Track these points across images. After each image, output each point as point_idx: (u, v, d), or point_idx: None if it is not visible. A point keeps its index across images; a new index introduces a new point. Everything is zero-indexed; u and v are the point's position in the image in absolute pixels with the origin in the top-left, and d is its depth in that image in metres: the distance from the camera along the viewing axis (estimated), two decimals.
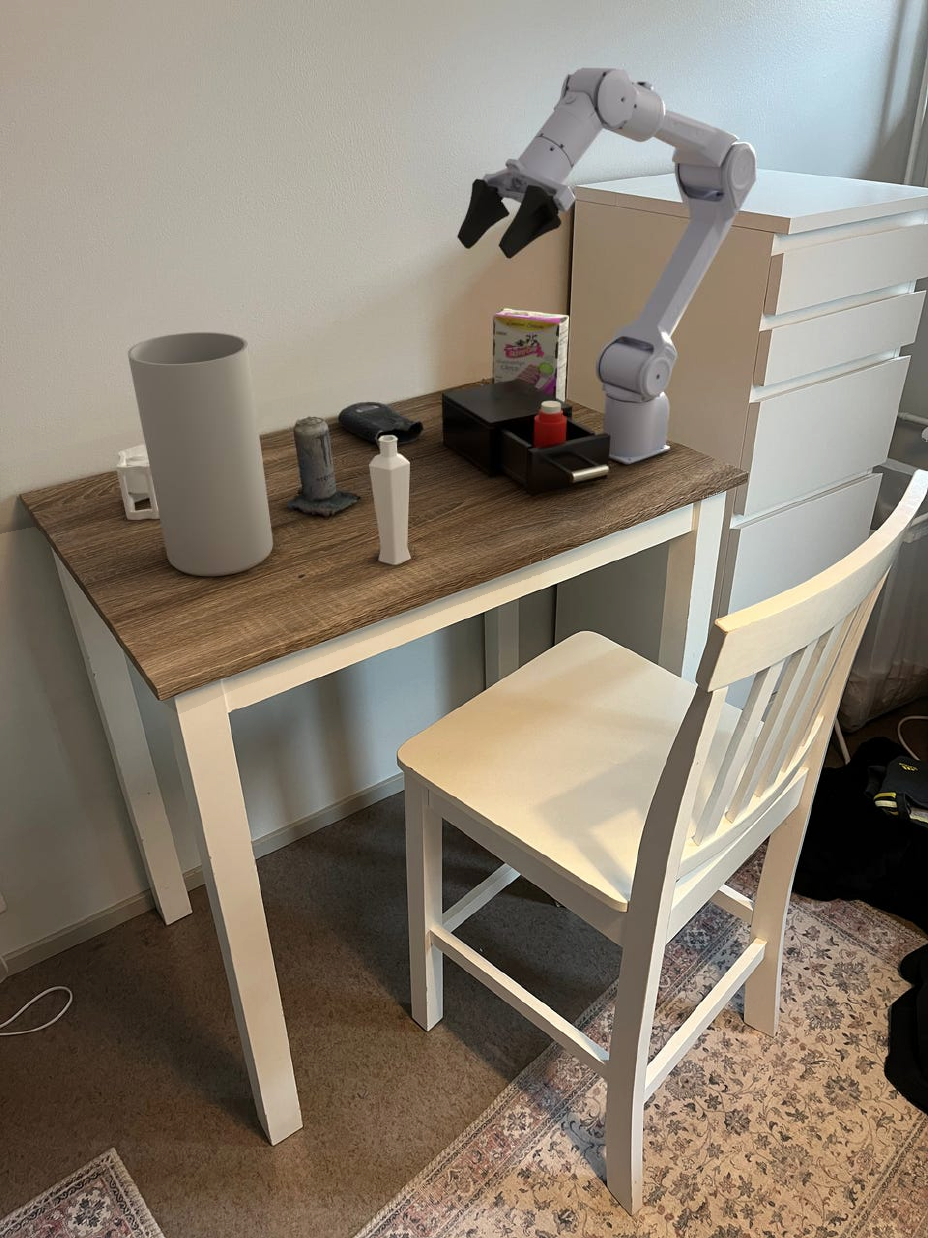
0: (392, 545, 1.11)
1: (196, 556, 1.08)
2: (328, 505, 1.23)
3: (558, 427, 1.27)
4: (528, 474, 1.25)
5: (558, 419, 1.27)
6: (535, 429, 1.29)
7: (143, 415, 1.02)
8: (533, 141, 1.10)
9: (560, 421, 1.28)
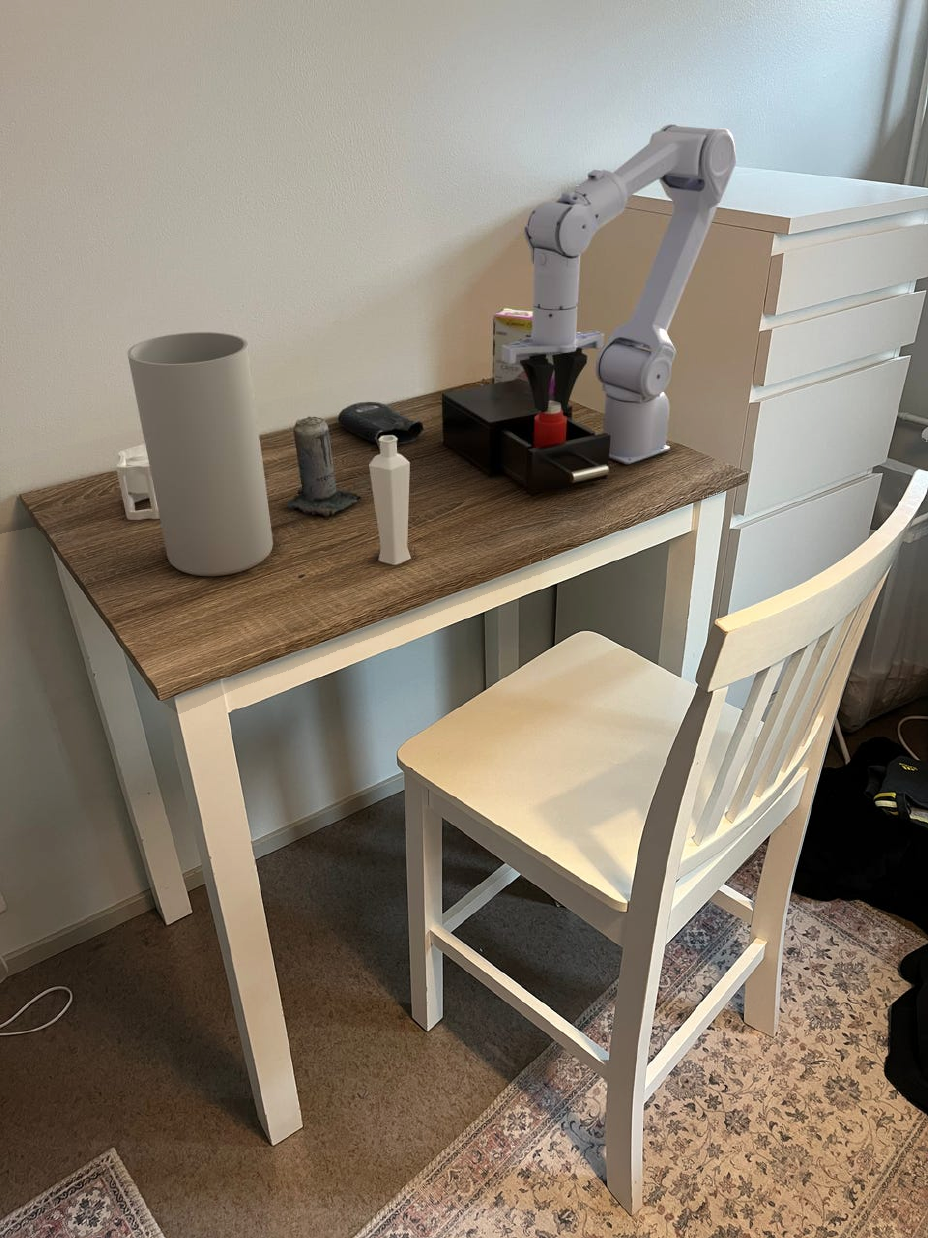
0: (392, 545, 1.11)
1: (196, 556, 1.08)
2: (328, 505, 1.23)
3: (558, 427, 1.27)
4: (528, 474, 1.25)
5: (558, 419, 1.27)
6: (535, 429, 1.29)
7: (143, 414, 1.02)
8: (562, 315, 1.19)
9: (560, 421, 1.28)
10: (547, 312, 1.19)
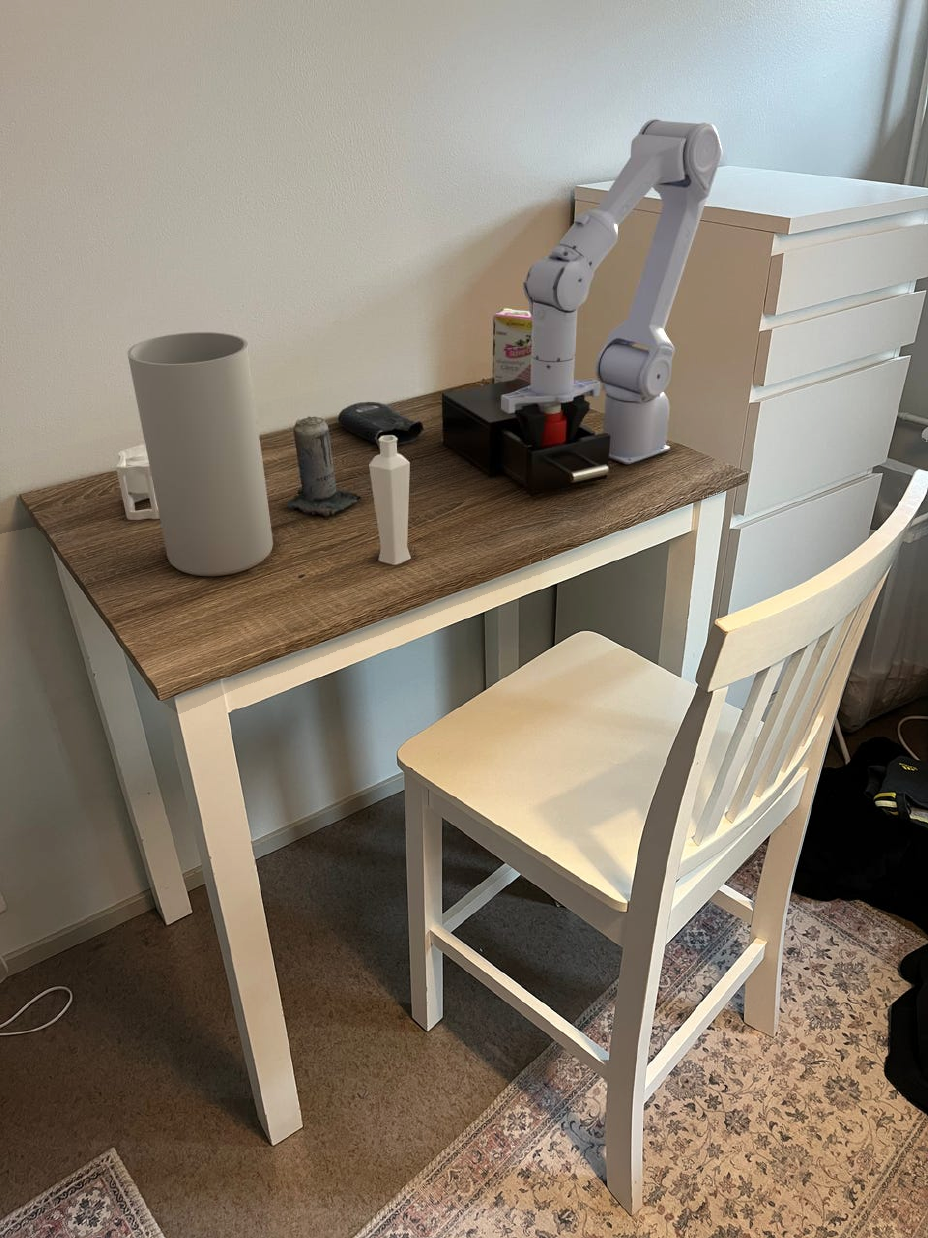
0: (392, 545, 1.11)
1: (196, 556, 1.08)
2: (328, 505, 1.23)
3: (558, 427, 1.27)
4: (528, 474, 1.25)
5: (558, 419, 1.28)
6: None
7: (143, 414, 1.02)
8: (560, 366, 1.22)
9: (560, 421, 1.28)
10: (545, 364, 1.22)
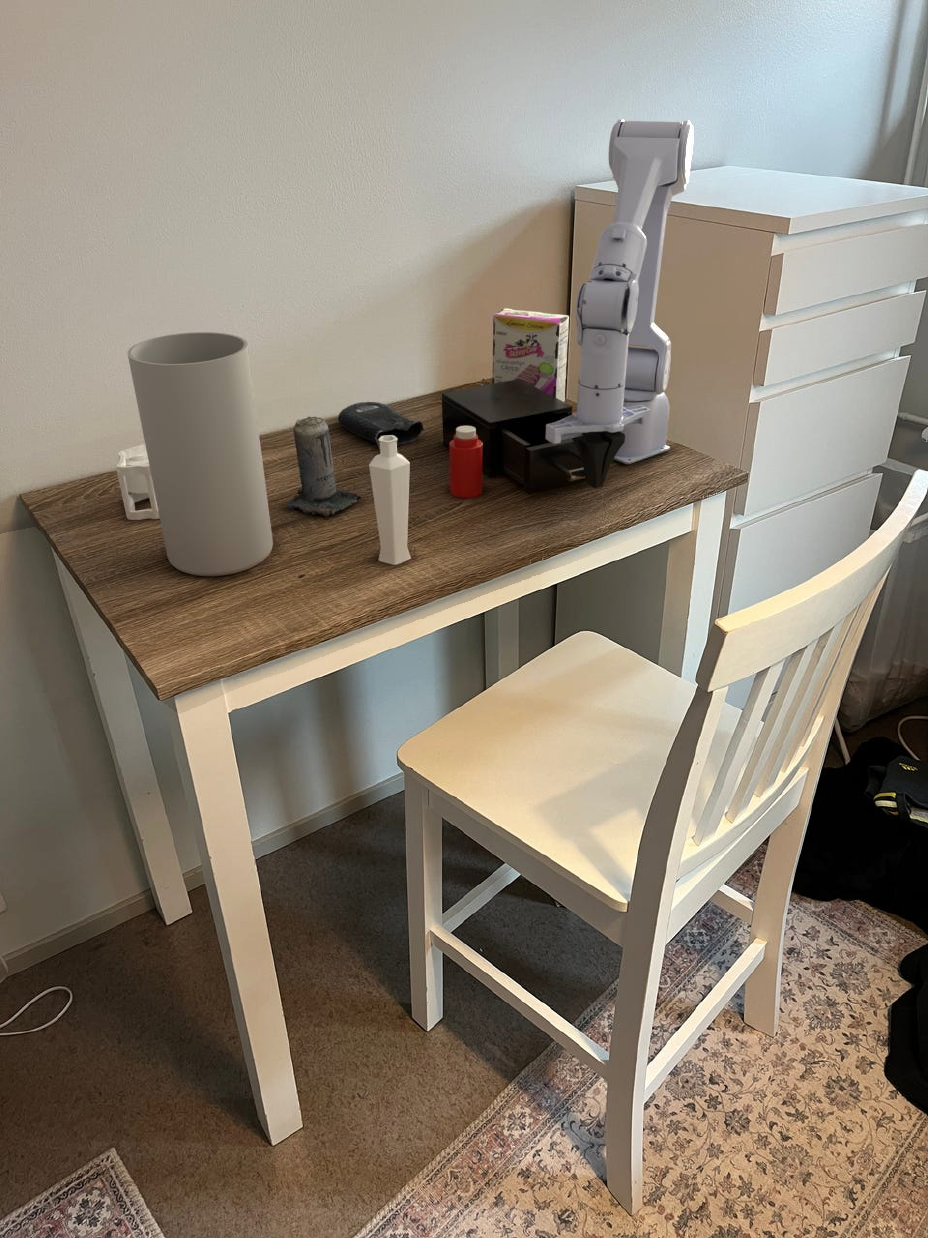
0: (392, 545, 1.11)
1: (196, 556, 1.08)
2: (328, 505, 1.23)
3: (473, 452, 1.25)
4: (526, 473, 1.26)
5: (473, 444, 1.25)
6: (450, 454, 1.27)
7: (143, 414, 1.02)
8: (610, 394, 1.14)
9: (475, 446, 1.25)
10: (594, 391, 1.14)
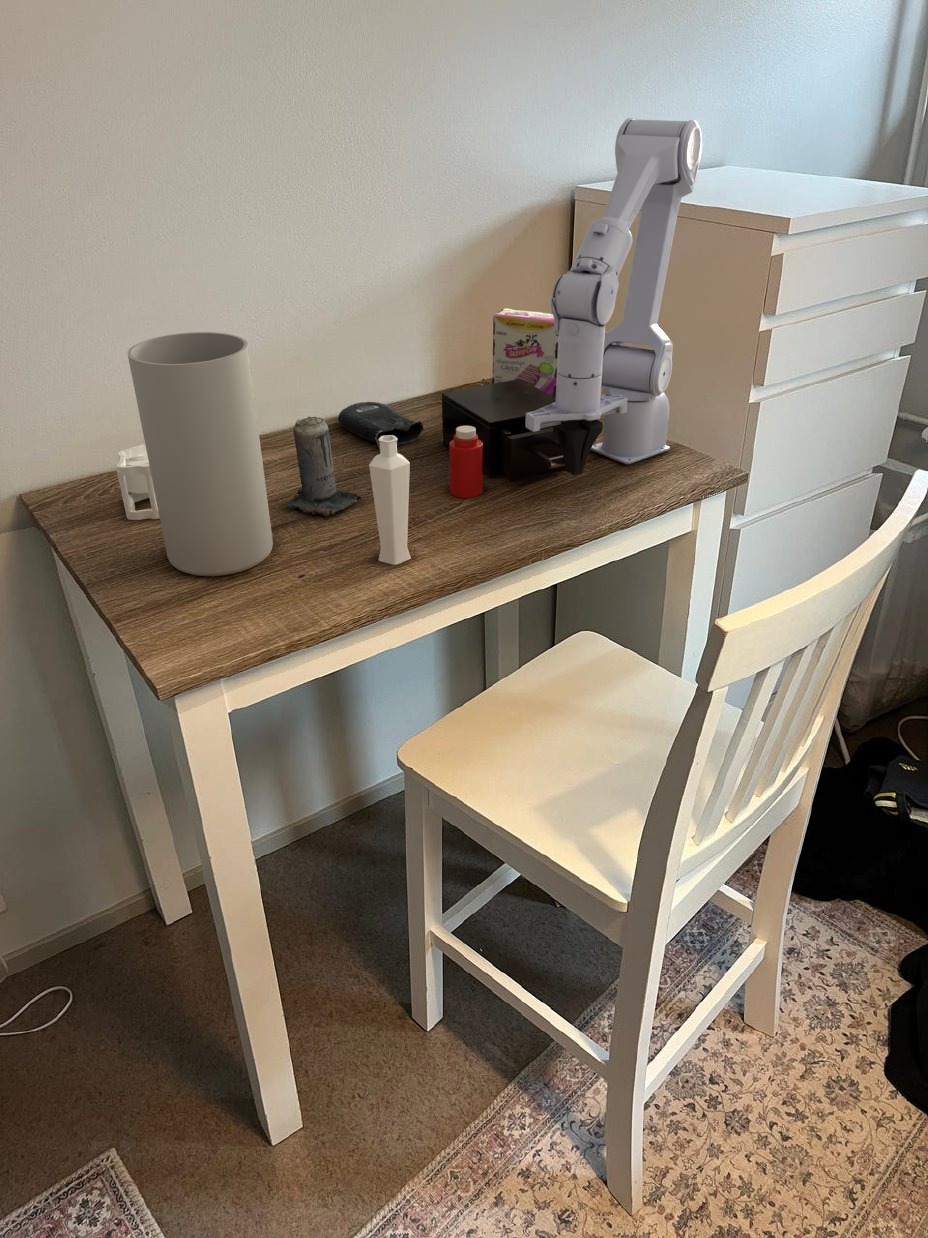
0: (392, 545, 1.11)
1: (196, 556, 1.08)
2: (328, 505, 1.23)
3: (473, 452, 1.25)
4: (507, 460, 1.29)
5: (473, 444, 1.25)
6: (450, 454, 1.27)
7: (143, 414, 1.02)
8: (587, 383, 1.18)
9: (475, 446, 1.25)
10: (572, 380, 1.18)
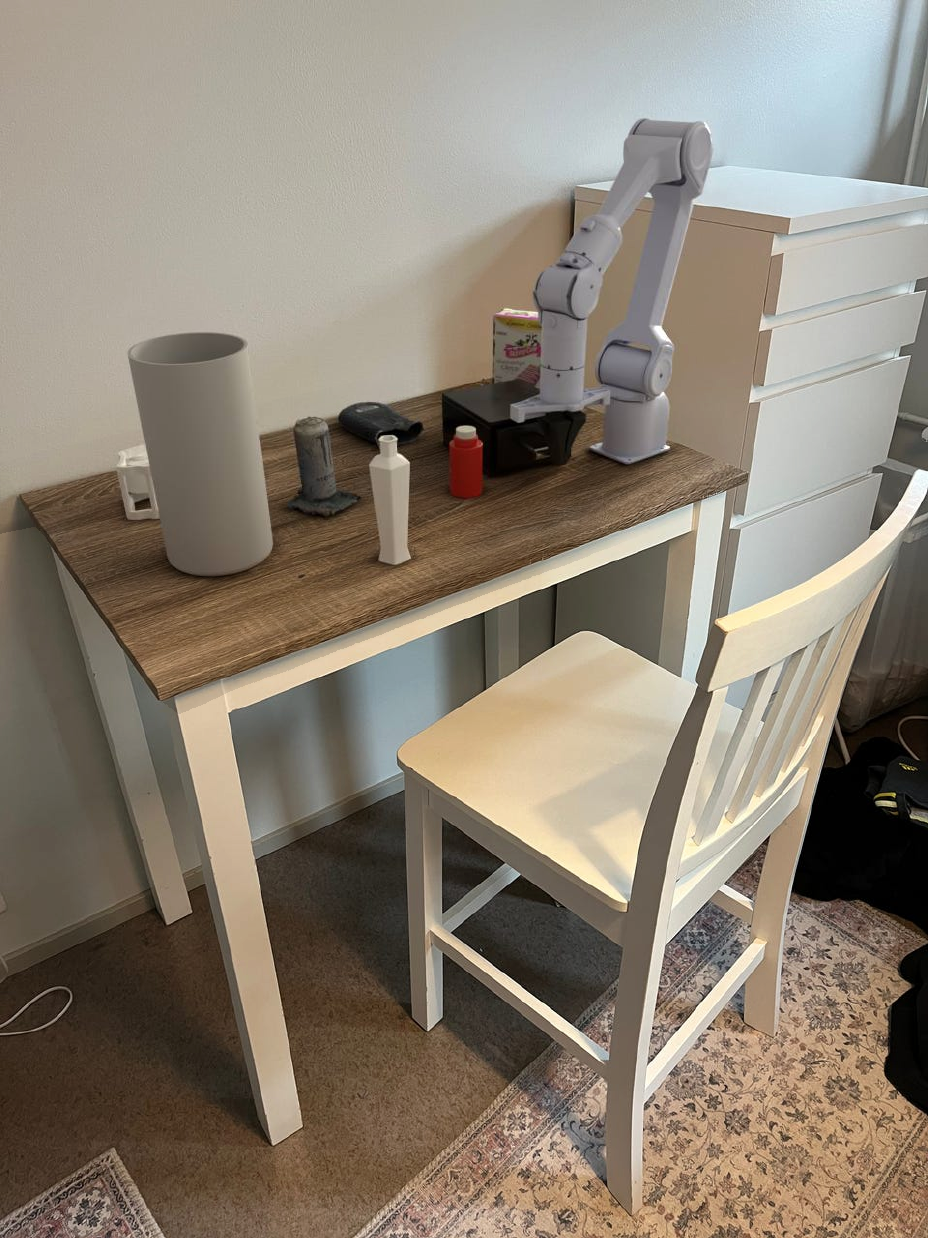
0: (392, 545, 1.11)
1: (196, 556, 1.08)
2: (328, 505, 1.23)
3: (473, 452, 1.25)
4: (494, 452, 1.32)
5: (473, 444, 1.25)
6: (450, 454, 1.27)
7: (143, 414, 1.02)
8: (570, 375, 1.21)
9: (475, 446, 1.25)
10: (555, 372, 1.21)
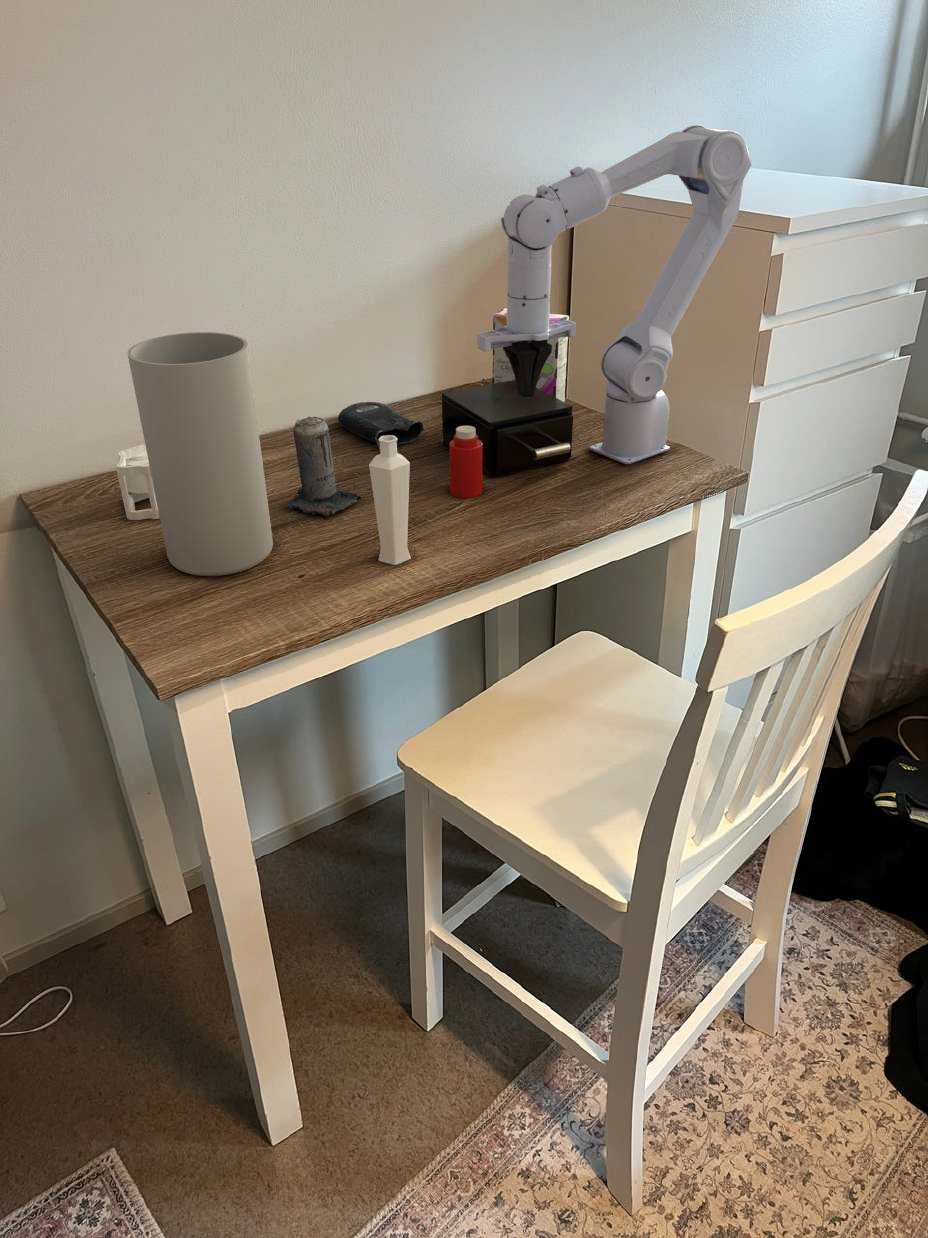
0: (392, 545, 1.11)
1: (196, 556, 1.08)
2: (328, 505, 1.23)
3: (473, 452, 1.25)
4: (494, 452, 1.32)
5: (473, 444, 1.25)
6: (450, 454, 1.27)
7: (143, 414, 1.02)
8: (535, 304, 1.24)
9: (475, 446, 1.25)
10: (520, 301, 1.24)
